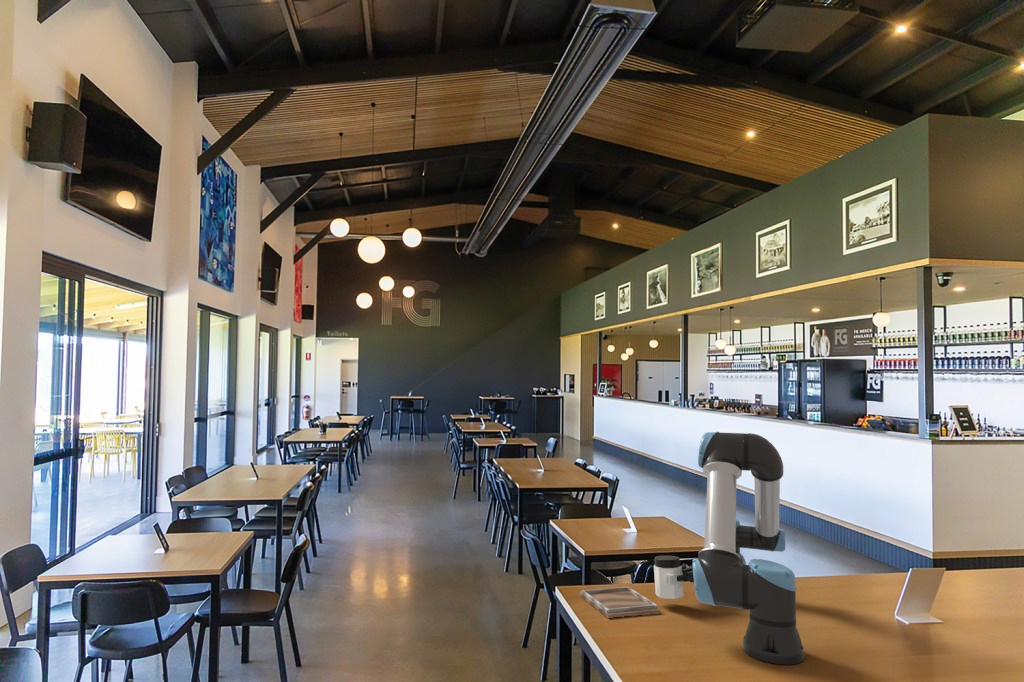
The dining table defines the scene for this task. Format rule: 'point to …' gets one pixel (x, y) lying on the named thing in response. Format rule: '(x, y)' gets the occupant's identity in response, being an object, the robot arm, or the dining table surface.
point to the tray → (619, 602)
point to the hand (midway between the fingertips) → (667, 579)
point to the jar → (660, 569)
